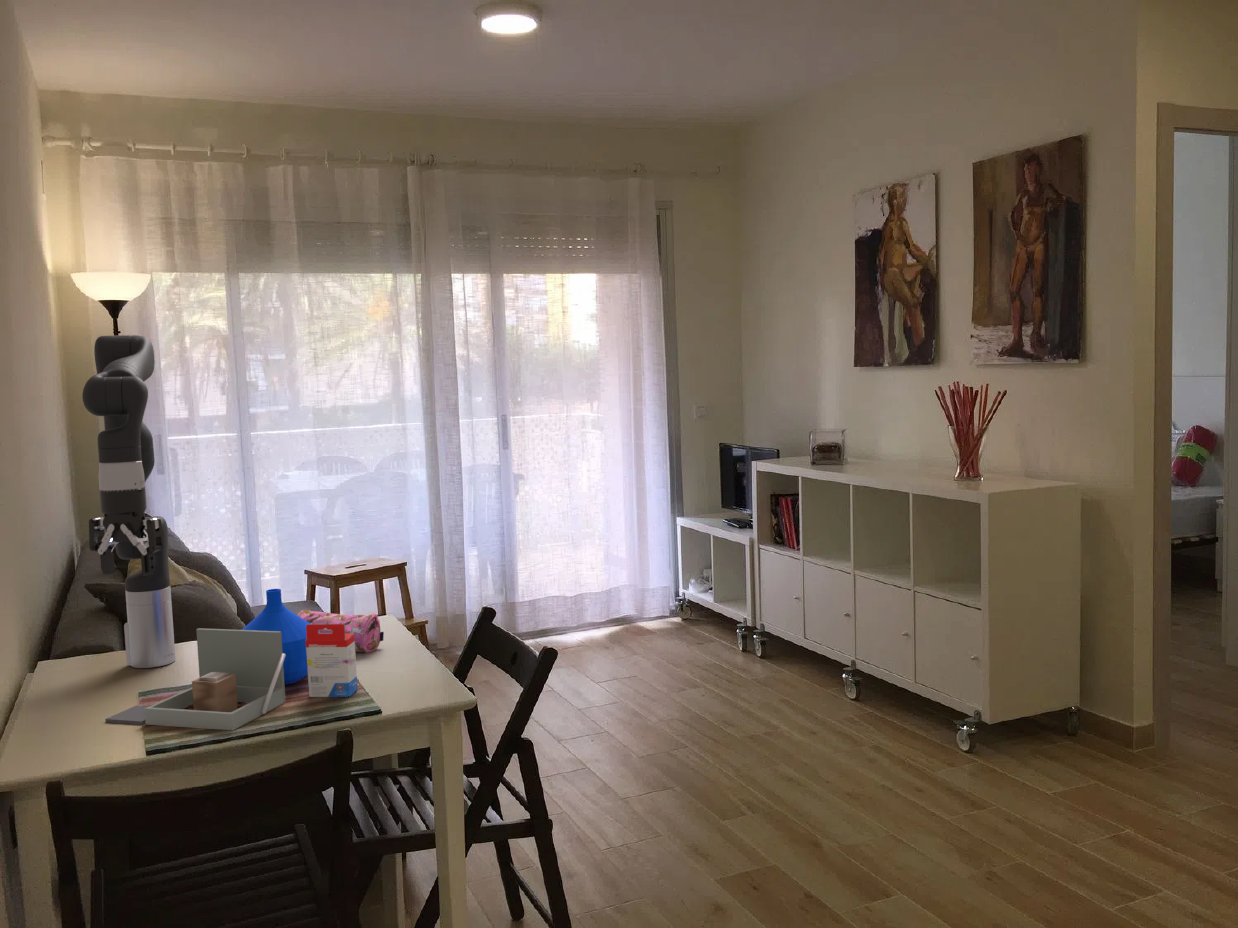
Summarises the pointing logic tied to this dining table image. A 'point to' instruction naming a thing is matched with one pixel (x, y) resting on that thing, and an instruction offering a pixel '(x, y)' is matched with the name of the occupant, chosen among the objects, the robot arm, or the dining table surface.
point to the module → (215, 692)
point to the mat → (129, 716)
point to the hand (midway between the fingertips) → (128, 574)
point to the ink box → (330, 661)
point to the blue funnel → (284, 634)
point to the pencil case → (350, 627)
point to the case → (255, 673)
